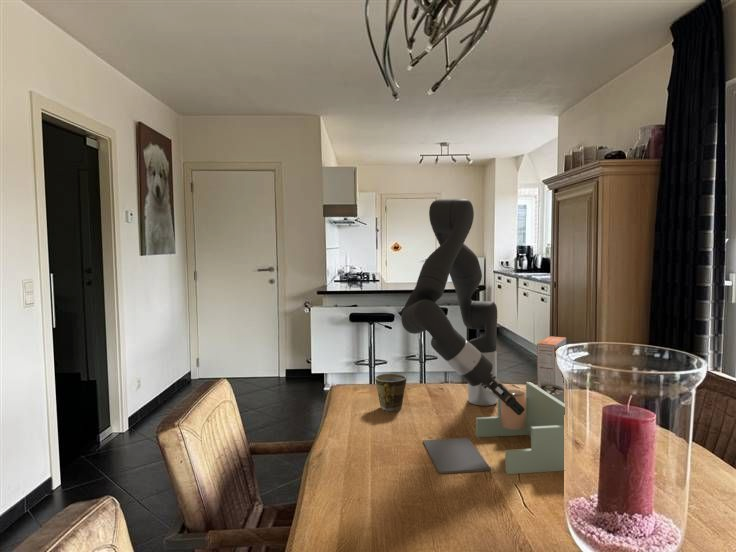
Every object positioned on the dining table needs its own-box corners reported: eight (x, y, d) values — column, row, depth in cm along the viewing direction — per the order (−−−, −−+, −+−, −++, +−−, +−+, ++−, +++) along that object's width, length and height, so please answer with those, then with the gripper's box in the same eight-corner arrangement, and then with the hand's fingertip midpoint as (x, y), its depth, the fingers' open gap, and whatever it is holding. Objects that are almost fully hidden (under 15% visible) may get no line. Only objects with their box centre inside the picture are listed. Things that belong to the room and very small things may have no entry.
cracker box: (548, 397, 161) (548, 335, 160) (567, 400, 157) (567, 337, 156) (536, 408, 149) (535, 342, 148) (556, 412, 146) (556, 344, 145)
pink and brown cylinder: (497, 421, 121) (497, 389, 120) (520, 419, 121) (520, 388, 121) (506, 430, 115) (505, 397, 114) (530, 428, 115) (530, 396, 115)
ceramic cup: (380, 402, 159) (379, 372, 159) (409, 404, 157) (409, 374, 156) (369, 415, 147) (369, 383, 146) (401, 417, 144) (401, 385, 144)
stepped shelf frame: (476, 435, 129) (475, 384, 128) (530, 432, 130) (530, 381, 129) (507, 474, 107) (507, 412, 106) (572, 469, 108) (572, 408, 107)
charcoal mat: (422, 442, 125) (422, 440, 125) (467, 439, 126) (467, 437, 126) (439, 473, 107) (439, 471, 107) (491, 470, 108) (491, 468, 108)
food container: (571, 431, 130) (571, 395, 130) (547, 430, 131) (547, 394, 131) (562, 416, 142) (562, 383, 142) (540, 415, 143) (540, 382, 143)
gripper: (489, 357, 109) (539, 406, 111) (470, 345, 123) (515, 388, 125) (466, 381, 109) (517, 429, 111) (450, 366, 123) (495, 408, 125)
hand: (516, 407), depth 118 cm, fingers closed on pink and brown cylinder, 6 cm apart
